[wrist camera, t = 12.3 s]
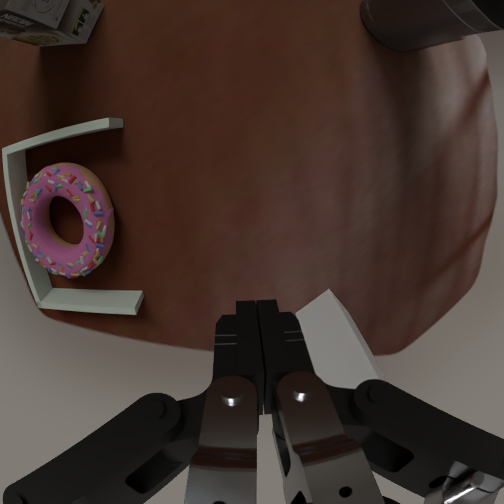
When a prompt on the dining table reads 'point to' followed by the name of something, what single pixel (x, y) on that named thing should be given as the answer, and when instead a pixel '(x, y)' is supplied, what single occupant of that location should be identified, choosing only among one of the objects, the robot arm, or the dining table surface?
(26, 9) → the coffee box
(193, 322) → the dining table surface
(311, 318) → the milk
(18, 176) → the box
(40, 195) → the donut
